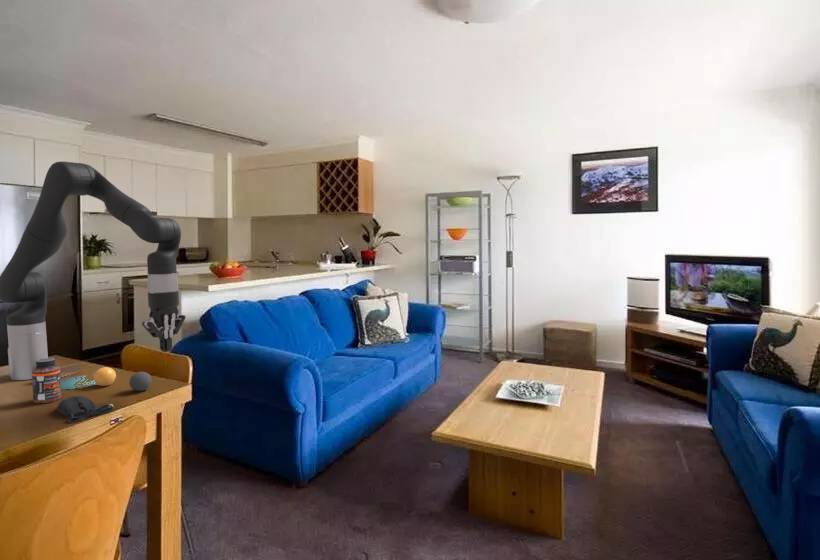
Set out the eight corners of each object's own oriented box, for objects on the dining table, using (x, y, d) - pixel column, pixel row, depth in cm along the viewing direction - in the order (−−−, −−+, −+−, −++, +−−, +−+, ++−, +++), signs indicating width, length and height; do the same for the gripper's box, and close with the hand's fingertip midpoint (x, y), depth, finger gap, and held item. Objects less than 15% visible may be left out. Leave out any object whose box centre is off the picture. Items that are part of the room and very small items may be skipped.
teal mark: (40, 386, 131) (40, 386, 131) (87, 373, 145) (87, 372, 145) (74, 391, 127) (74, 391, 127) (119, 377, 140) (119, 377, 140)
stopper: (36, 383, 135) (36, 373, 134) (76, 372, 146) (76, 363, 146) (40, 383, 134) (39, 373, 134) (80, 372, 146) (79, 363, 145)
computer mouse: (89, 401, 121) (88, 387, 121) (116, 412, 114) (115, 397, 113) (44, 413, 112) (43, 399, 112) (70, 426, 105) (69, 410, 105)
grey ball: (125, 392, 127) (124, 373, 126) (142, 386, 132) (141, 368, 131) (139, 394, 125) (138, 375, 125) (156, 388, 130) (155, 370, 130)
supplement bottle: (45, 405, 117) (42, 363, 116) (27, 403, 118) (24, 361, 117) (67, 397, 123) (64, 357, 122) (49, 395, 124) (47, 356, 123)
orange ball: (89, 387, 131) (88, 369, 131) (107, 381, 136) (106, 364, 136) (103, 389, 129) (102, 371, 129) (120, 383, 135) (119, 365, 134)
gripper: (172, 287, 130) (174, 345, 132) (131, 292, 118) (135, 355, 119) (192, 287, 128) (195, 346, 129) (153, 293, 115) (156, 358, 117)
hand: (166, 351), depth 124 cm, fingers closed
